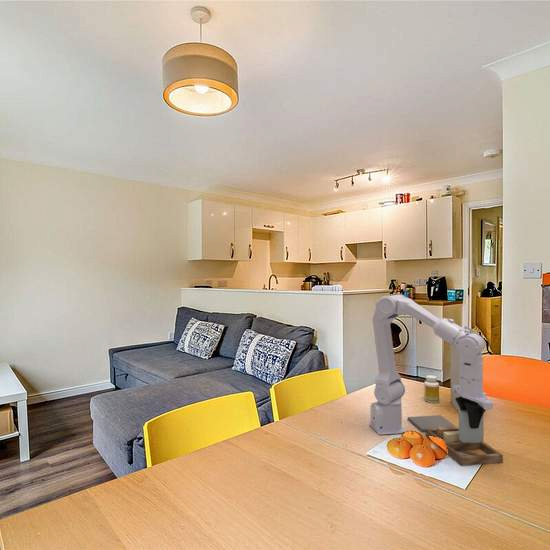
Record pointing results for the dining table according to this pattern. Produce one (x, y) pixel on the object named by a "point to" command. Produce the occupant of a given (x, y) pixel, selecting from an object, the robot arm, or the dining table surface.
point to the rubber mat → (429, 422)
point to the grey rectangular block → (469, 429)
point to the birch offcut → (451, 437)
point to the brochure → (456, 370)
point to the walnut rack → (452, 448)
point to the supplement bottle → (431, 389)
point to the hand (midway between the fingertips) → (471, 426)
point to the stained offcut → (446, 430)
